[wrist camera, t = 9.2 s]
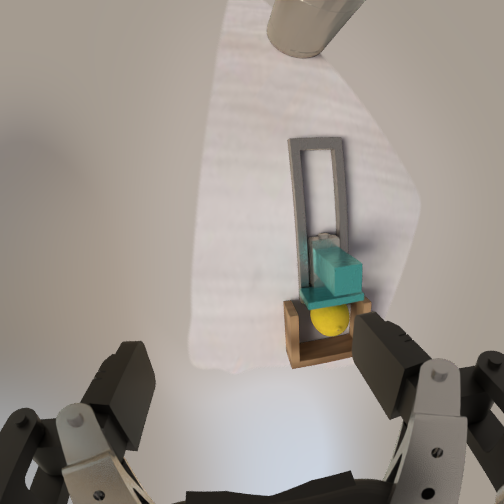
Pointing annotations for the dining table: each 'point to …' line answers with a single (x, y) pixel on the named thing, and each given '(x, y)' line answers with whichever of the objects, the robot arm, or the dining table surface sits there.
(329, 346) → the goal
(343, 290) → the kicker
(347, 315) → the lemon
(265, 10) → the dining table surface
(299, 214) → the rails
